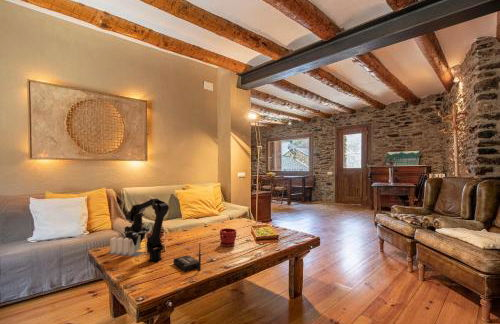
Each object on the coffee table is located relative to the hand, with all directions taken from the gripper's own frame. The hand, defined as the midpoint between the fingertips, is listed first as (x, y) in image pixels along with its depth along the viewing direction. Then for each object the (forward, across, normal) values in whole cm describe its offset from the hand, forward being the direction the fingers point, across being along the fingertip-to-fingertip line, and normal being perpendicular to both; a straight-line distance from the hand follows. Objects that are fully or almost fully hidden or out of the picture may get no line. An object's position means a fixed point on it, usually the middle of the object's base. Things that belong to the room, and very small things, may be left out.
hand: (137, 244), depth 177 cm
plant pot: (+8, -35, +56) cm, 66 cm away
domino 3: (+7, 0, -5) cm, 9 cm away
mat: (+8, 0, -10) cm, 13 cm away
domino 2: (+7, 0, -10) cm, 12 cm away
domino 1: (+7, 0, -15) cm, 17 cm away
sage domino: (+4, 0, 0) cm, 4 cm away
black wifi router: (+8, +11, +44) cm, 46 cm away
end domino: (+7, 0, -20) cm, 21 cm away
